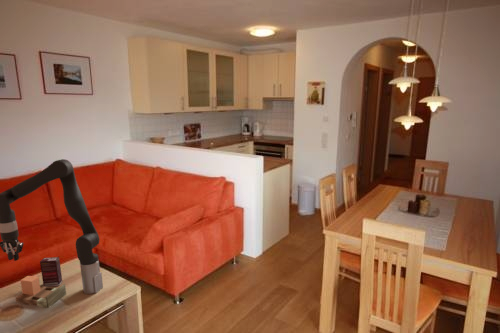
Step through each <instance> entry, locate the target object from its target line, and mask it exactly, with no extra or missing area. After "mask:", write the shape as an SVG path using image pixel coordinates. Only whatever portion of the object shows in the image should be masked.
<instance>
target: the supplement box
mask: <svg viewBox="0 0 500 333" xmlns="http://www.w3.org/2000/svg"><path fill="white" fill-rule="evenodd" d="M39 264H40V272H41V279H42V286H45V287H57V286H58V287H60V286H61V284H62V282H63V278H62V277H63V276H62V270H61V262H60V257H59V256H55V257H54V256H53V257H43V258H42V259H41V260H39Z"/></svg>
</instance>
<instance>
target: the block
mask: <svg viewBox="0 0 500 333" xmlns="http://www.w3.org/2000/svg"><path fill="white" fill-rule="evenodd" d="M20 285H21V291H22V292H21V294H22V293H23V294H28V295H35V294H36V293H38V292H39V291H41V289H40V286H41V284H40V277H39V276H34V275H33V276H31V275H27V276H25V277H24V278H22V279H20Z"/></svg>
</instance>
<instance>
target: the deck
mask: <svg viewBox="0 0 500 333" xmlns="http://www.w3.org/2000/svg"><path fill="white" fill-rule="evenodd" d="M40 289H41V291H39V292H38V293H36V294H35V295H28V294H23V293H22V292H21V294H19V295H17V296H16V297H15V301H16V302H15V303H16V304H21V303H22V305H27V306H35V307H42V308H51V307H52V306H53V305H54V304H56V303H57V302H59V301H60V300H61V299H62V298H64V297H65V296H66V295H67V288H66V284H64V283H63V284H62V285H59V286H58V287H53V286H48V287H45V286H44V285H40Z"/></svg>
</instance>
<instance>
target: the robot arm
mask: <svg viewBox="0 0 500 333" xmlns="http://www.w3.org/2000/svg"><path fill="white" fill-rule="evenodd" d="M57 179H59V180H60V182H61V186H62V191H63V192H62V193H63V194H62V196H63V203H64V207H65V208H66V211H67V214H68V216H69V217H70V218H71V219H72V220H74V221H75V222H76V223H77V224H78V225H79V227H80V228H81V230H82V235H80V236H79V237H77V239H76V240H75V250H76V254H77V256H76V257H77V259H78V261H79V265H80V266H79V267H80V274H81V276H80V277H81V283H82V291H83V293H84V294H85V295H93V294H97V293H98V292H99V291H100V290H101V289H103V288H104V285H103V275H102V273H103V272H102V271H101V270H100V261H99V254H97V253H94V252H93V249H95V248H96V247H97V246H98V245H99V244H100V236H99V233H98V231H97V229H96V227H95V226H94V224H93V221H92V219H91V216H90V213H89V211H88V208H87V205H86V203H85V199H84V197H83V194H82V192H81V190H80V187H79V185H78V181H77V178H76V174H75V169H74V166H73V164H72V163H71V161H69V160H68V159H56V160H54V161H52V162H51V164H50V165H48V166H47V167H45V168H44V169H42V170H41V171H40V172H37V174H35V175H33V176H31V177H29V178H27V179H25V180H23V181H21V182H19V183H17V184H15V185H13V186H12V187H10V188H8V189H6V190H4V191H1V192H0V239H1V241H0V249H1V250H2V252H3V253H6V254H7V259H8V261H12V260H13V261H14V262H17V261H19V259H20V256H19V254H20V253H22V251H23V247H24V245H25V243H24V242H20V241H19V239H18V238H19V236H20V235H19V234H20V233H19V228H18V222H17V219H16V212H15V210H14V209H12V208H11V206H10V205H11V204H12V203H14V202H15V201H17V200H19V199H21V198H23V197H26V196H28V195H29V194H31V193H33V192H35V191H37V190H38V189H39V188H40V187H43V185H46V184H48V183H50V182H53V181H54V180H57Z"/></svg>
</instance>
